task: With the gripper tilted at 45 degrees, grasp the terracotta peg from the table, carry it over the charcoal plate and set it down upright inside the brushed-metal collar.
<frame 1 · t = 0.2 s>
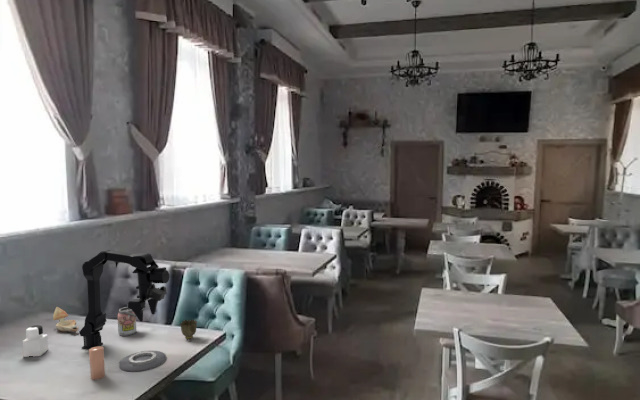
hand: (147, 317, 194), 15 cm above the table, tool pointing down, fingers open, 9 cm apart
charcoal plate: (142, 361, 184), on the table
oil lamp: (67, 330, 222), on the table
terracotta peg: (98, 376, 171), on the table
decorated jar: (128, 333, 216), on the table
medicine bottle: (36, 353, 194), on the table
metal collar: (142, 358, 184), on the charcoal plate, point 1 cm above the table
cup: (189, 338, 208), on the table
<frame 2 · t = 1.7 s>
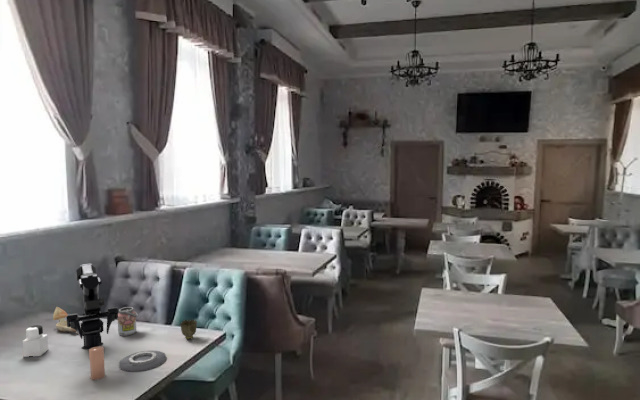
hand: (94, 335, 177), 13 cm above the table, tool tilted 45°, fingers open, 9 cm apart
nothing on the table moved.
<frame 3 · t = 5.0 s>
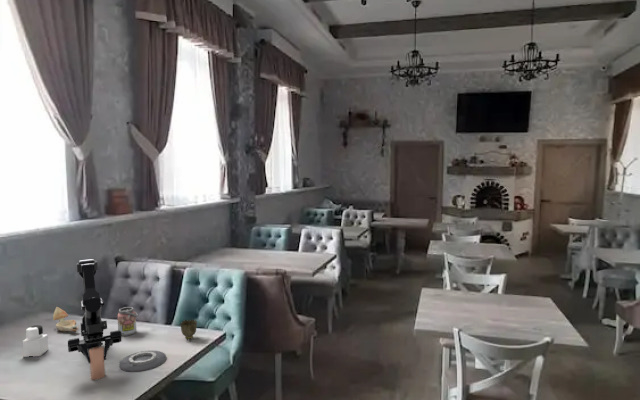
hand: (97, 361, 170), 7 cm above the table, tool tilted 45°, fingers closed on terracotta peg, 5 cm apart
terracotta peg: (98, 376, 171), on the table, touching gripper
everything else where it was.
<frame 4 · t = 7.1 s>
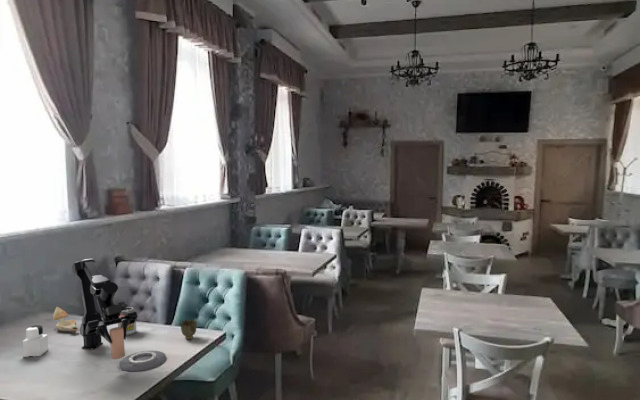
hand: (118, 341, 174), 12 cm above the table, tool tilted 45°, fingers closed on terracotta peg, 5 cm apart
terracotta peg: (117, 356, 175), point 6 cm above the table, touching gripper
everything else where it was.
when the fingers open (9 cm above the table, at t = 9.6 s): terracotta peg drops 1 cm, resting on charcoal plate.
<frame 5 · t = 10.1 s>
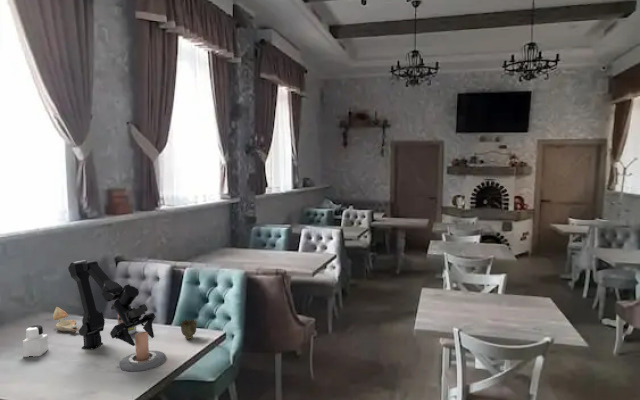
hand: (144, 341, 182), 9 cm above the table, tool tilted 45°, fingers open, 9 cm apart
terracotta peg: (142, 359, 184), point 1 cm above the table, touching charcoal plate
everything else where it was.
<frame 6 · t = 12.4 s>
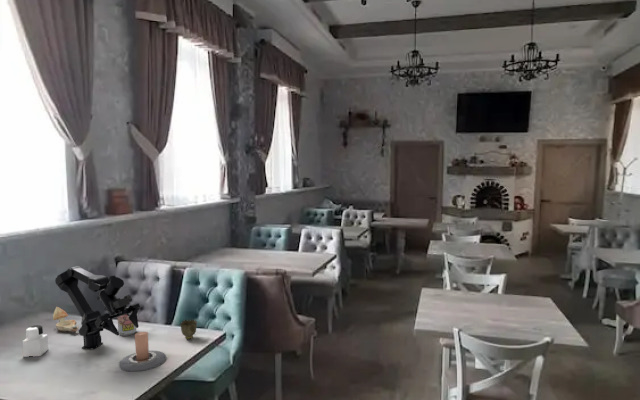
hand: (128, 331, 187), 12 cm above the table, tool tilted 45°, fingers open, 9 cm apart
nothing on the table moved.
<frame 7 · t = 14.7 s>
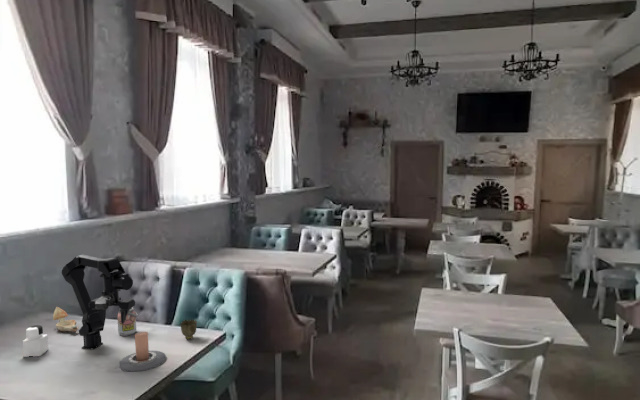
hand: (113, 322, 193), 13 cm above the table, tool pointing down, fingers open, 9 cm apart
nothing on the table moved.
at the end: terracotta peg 0.0 cm off-centre on the charcoal plate, point 0.8 cm above the charcoal plate's base; terracotta peg tilted 0°; the gripper is holding nothing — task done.
